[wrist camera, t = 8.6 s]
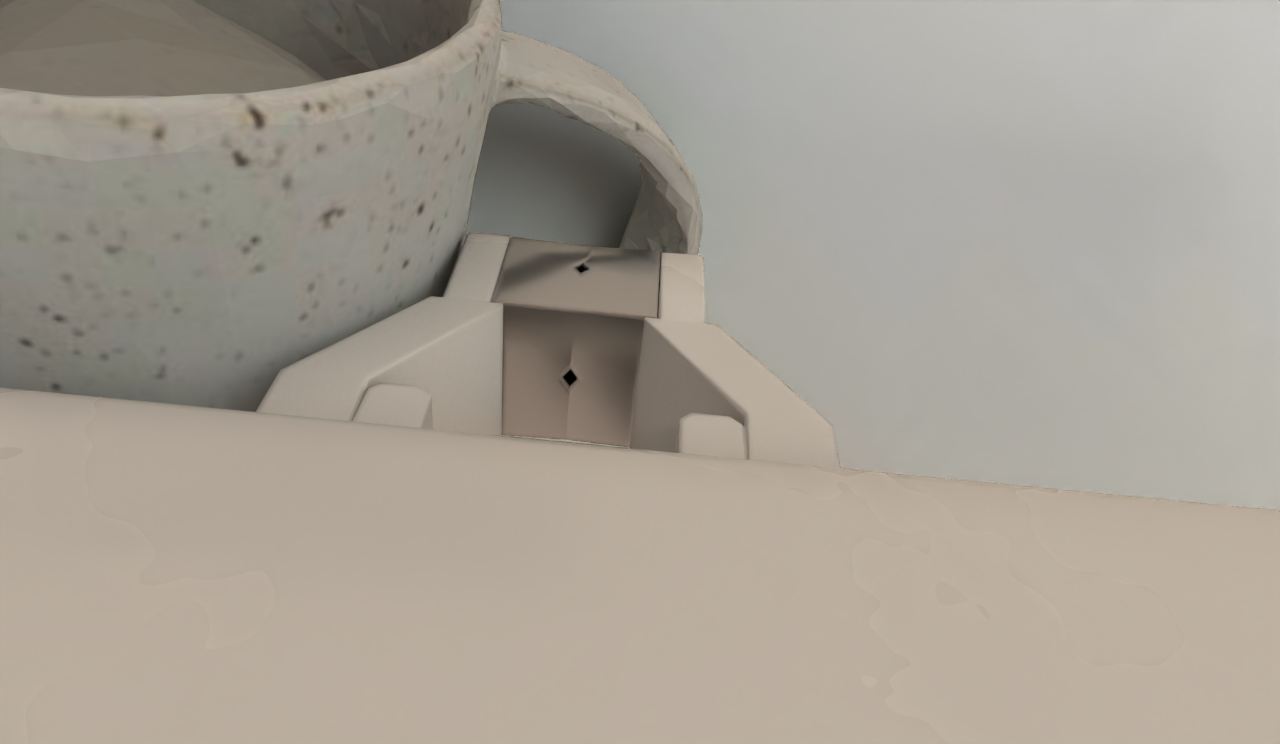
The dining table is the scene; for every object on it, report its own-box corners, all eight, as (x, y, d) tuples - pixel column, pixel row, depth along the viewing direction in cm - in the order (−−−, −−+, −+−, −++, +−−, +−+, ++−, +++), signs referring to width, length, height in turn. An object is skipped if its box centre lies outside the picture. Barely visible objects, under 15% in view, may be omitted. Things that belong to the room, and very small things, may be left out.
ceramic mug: (39, 314, 17) (-322, 695, 11) (-63, -225, 12) (-817, -101, 6) (637, 419, 18) (623, 819, 12) (759, -38, 13) (842, 231, 7)
